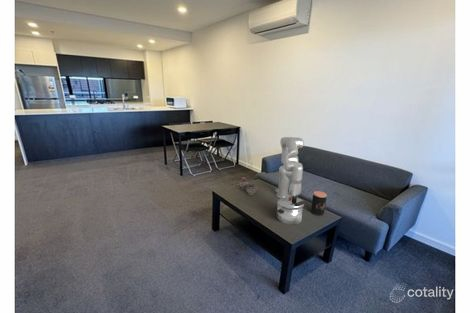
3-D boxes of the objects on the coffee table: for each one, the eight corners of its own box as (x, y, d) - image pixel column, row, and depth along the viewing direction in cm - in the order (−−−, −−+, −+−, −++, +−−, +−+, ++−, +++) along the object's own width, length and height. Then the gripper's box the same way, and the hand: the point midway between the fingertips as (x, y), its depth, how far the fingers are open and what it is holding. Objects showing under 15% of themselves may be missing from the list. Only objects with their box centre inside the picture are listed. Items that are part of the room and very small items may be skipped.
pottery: (245, 186, 243) (245, 175, 239) (259, 195, 222) (259, 184, 219) (236, 187, 237) (236, 177, 234) (249, 197, 216) (250, 186, 213)
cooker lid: (272, 203, 181) (272, 199, 180) (288, 196, 193) (288, 193, 193) (293, 210, 164) (293, 207, 164) (309, 203, 177) (309, 199, 176)
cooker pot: (268, 216, 183) (269, 203, 180) (288, 208, 198) (290, 195, 195) (288, 229, 167) (290, 214, 164) (308, 218, 183) (310, 205, 179)
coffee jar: (314, 216, 186) (317, 197, 181) (308, 210, 196) (311, 191, 191) (326, 215, 188) (329, 196, 183) (319, 209, 198) (322, 190, 193)
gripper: (298, 177, 178) (295, 198, 183) (286, 181, 169) (284, 203, 174) (306, 180, 173) (303, 202, 177) (294, 184, 164) (291, 207, 168)
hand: (293, 202), depth 176 cm, fingers closed
